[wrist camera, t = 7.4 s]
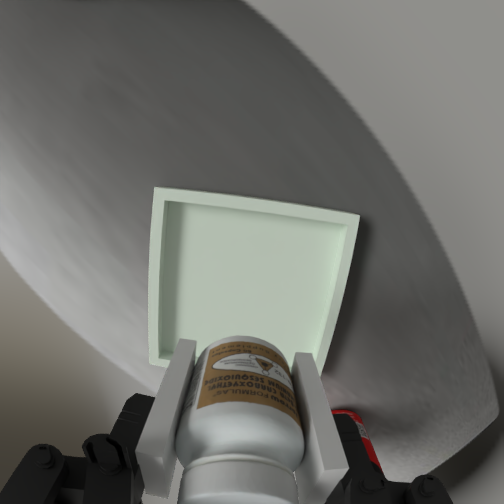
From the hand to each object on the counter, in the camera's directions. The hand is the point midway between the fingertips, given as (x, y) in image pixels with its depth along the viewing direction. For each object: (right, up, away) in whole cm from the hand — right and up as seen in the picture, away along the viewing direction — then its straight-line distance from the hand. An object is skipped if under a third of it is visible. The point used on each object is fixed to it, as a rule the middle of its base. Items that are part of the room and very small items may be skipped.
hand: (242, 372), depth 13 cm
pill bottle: (0, 0, +1) cm, 1 cm away
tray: (0, +3, +10) cm, 10 cm away
